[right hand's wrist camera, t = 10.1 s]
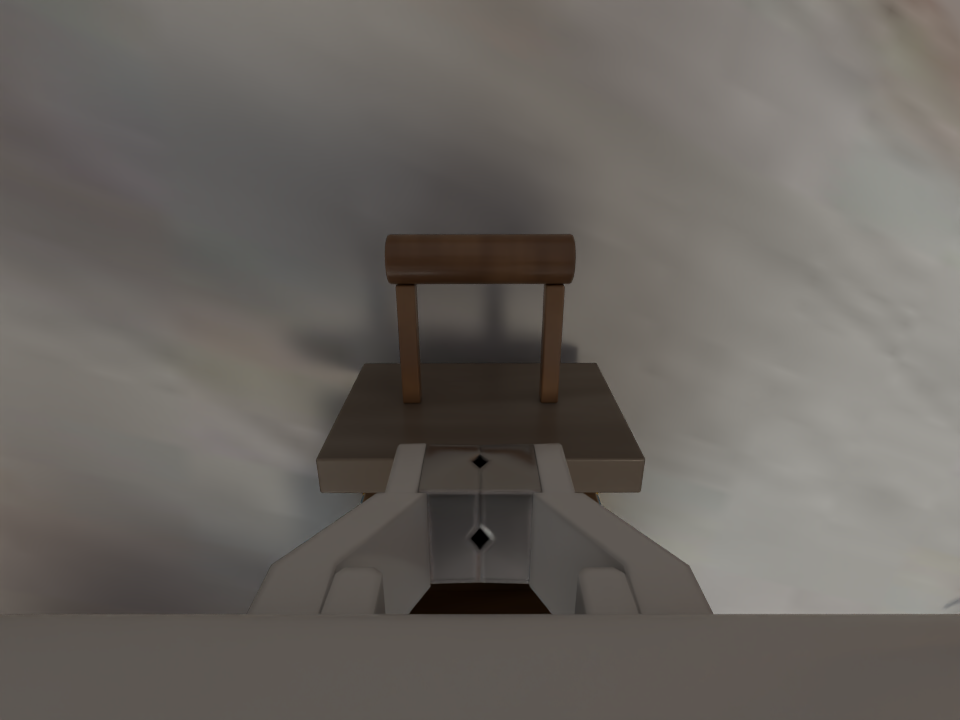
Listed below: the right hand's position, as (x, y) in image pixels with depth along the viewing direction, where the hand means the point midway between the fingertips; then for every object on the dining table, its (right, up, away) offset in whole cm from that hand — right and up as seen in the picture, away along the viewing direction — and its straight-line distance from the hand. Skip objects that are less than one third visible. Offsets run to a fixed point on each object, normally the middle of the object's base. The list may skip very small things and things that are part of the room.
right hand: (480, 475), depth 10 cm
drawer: (0, -1, +13) cm, 13 cm away
